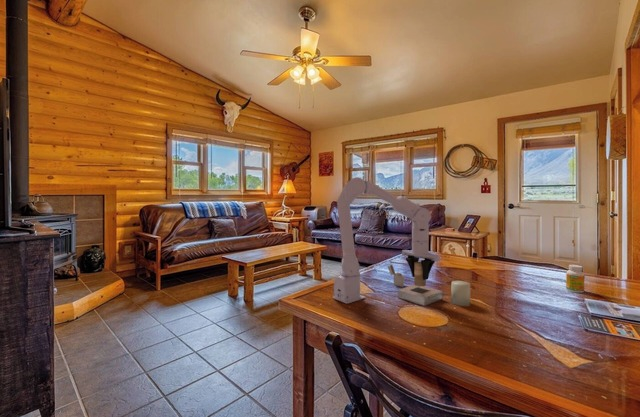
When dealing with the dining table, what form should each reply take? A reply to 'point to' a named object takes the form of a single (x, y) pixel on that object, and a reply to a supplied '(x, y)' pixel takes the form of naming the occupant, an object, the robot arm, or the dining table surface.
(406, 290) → the beige square frame
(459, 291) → the pale green rounded block
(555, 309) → the dining table surface
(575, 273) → the supplement bottle
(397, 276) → the lighter
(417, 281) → the oak peg
